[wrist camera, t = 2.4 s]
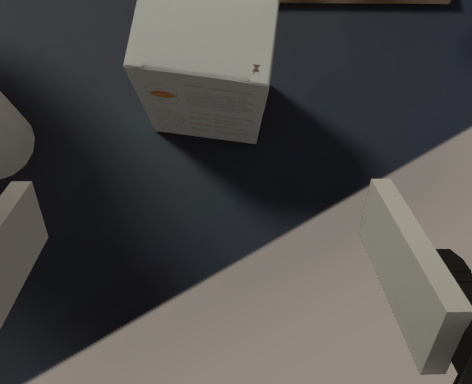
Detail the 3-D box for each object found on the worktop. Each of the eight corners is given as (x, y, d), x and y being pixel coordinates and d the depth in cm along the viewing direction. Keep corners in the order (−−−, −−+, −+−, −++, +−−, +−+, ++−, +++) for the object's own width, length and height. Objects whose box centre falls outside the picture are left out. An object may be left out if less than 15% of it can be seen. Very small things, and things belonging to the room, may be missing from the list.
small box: (265, 80, 34) (284, -8, 23) (256, 147, 32) (272, 86, 22) (165, 65, 33) (140, -28, 23) (152, 132, 32) (120, 65, 22)
